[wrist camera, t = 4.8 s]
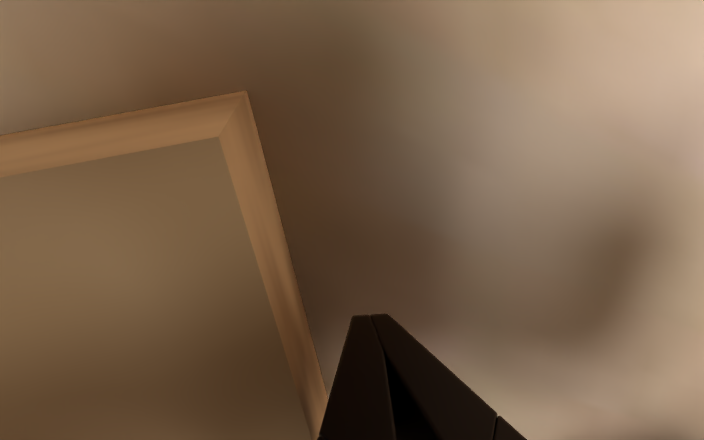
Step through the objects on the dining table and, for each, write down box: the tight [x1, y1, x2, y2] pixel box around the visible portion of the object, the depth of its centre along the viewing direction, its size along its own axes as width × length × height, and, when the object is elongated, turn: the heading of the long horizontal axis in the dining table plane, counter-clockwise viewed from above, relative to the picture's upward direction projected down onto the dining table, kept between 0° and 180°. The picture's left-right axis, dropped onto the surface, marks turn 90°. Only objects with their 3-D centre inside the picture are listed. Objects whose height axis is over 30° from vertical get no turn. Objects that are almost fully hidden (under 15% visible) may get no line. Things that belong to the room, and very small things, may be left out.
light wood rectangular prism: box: [0, 90, 328, 440], centre depth 9 cm, size 9×6×4 cm, turn 9°
